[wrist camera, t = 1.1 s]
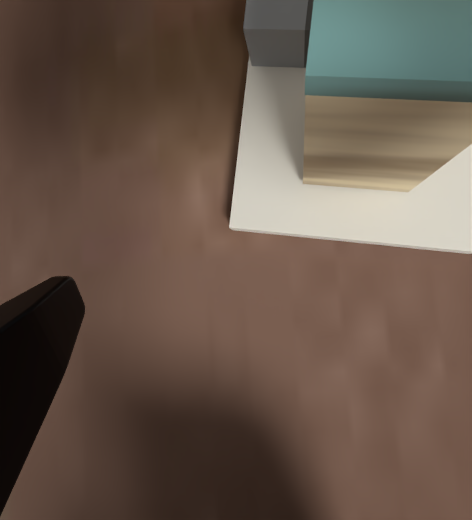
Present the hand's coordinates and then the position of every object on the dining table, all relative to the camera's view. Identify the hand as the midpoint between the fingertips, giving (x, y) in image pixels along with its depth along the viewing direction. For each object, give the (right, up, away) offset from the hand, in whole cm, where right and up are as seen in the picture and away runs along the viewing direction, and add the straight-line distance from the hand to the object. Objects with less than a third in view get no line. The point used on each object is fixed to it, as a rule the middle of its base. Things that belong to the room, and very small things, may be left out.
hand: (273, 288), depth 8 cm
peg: (+5, +7, +11) cm, 14 cm away
